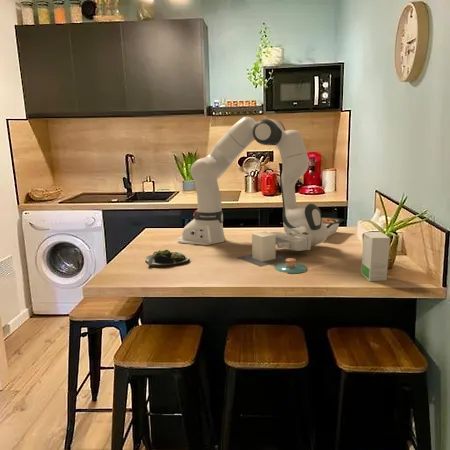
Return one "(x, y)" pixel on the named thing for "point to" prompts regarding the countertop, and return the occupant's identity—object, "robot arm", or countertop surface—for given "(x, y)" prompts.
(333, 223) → the food packaging
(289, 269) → the teal pot lid
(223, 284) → the countertop surface
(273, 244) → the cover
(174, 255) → the salad plate
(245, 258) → the mat
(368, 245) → the skincare box
